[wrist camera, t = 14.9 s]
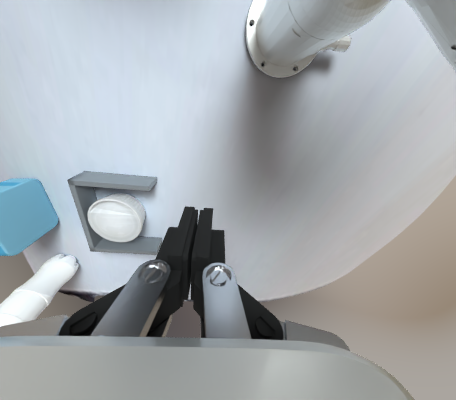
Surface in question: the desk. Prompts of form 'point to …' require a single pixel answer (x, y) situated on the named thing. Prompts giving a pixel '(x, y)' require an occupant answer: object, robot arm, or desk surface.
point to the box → (86, 197)
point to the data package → (23, 214)
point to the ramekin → (117, 217)
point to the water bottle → (37, 290)
